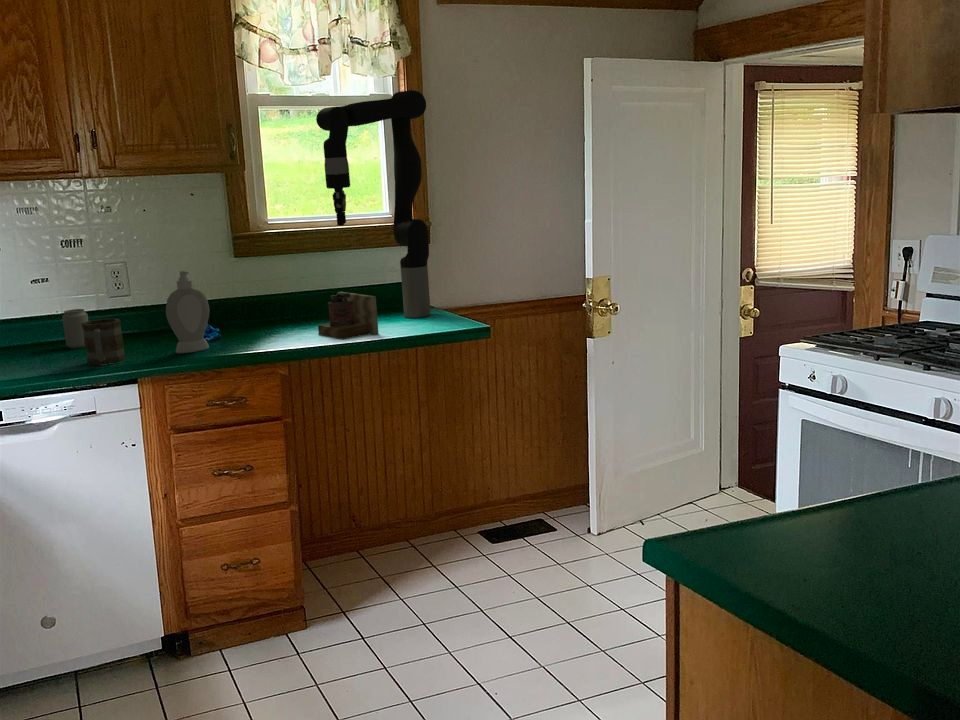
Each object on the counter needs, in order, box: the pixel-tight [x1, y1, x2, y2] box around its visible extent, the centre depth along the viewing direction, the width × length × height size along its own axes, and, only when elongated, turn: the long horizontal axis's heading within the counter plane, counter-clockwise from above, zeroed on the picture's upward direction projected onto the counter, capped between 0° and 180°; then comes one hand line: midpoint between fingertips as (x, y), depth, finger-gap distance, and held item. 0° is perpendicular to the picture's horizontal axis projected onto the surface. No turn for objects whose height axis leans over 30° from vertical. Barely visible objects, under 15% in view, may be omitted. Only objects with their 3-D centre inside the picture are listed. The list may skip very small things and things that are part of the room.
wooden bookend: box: [317, 291, 380, 340], centre depth 295 cm, size 20×12×12 cm, turn 40°
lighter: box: [327, 292, 355, 327], centre depth 294 cm, size 8×3×10 cm, turn 108°
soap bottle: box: [165, 269, 210, 354], centre depth 278 cm, size 13×8×24 cm, turn 123°
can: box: [61, 308, 89, 350], centre depth 298 cm, size 8×8×12 cm
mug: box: [81, 318, 127, 366], centre depth 268 cm, size 16×11×12 cm
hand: (341, 224), depth 296 cm, fingers open, 8 cm apart
